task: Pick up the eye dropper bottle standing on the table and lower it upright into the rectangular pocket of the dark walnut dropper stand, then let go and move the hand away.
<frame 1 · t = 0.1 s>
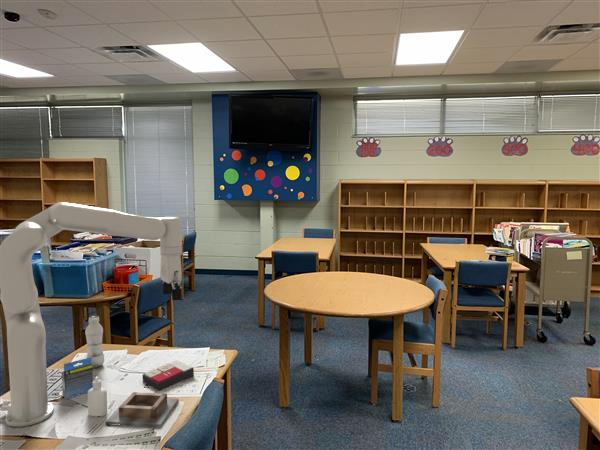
hand: (171, 296, 151), 31 cm above the table, tool pointing down, fingers open, 9 cm apart
dropper stand: (143, 412, 130), on the table
plastic bottle: (95, 366, 163), on the table
label tape cartridge: (78, 393, 142), on the table
red and grey box: (168, 380, 153), on the table
eye dropper bottle: (97, 414, 129), on the table
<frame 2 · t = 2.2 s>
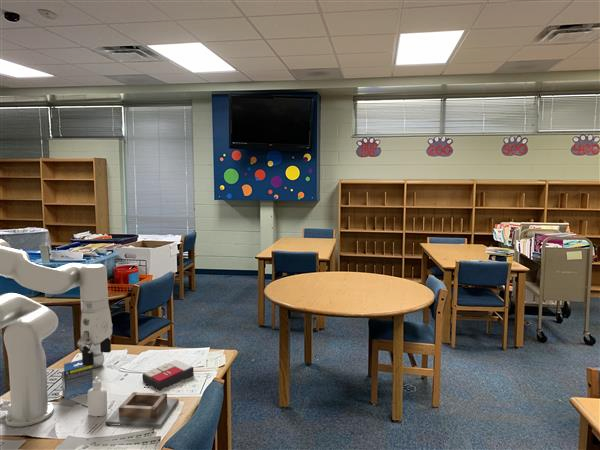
hand: (97, 358, 128), 18 cm above the table, tool pointing down, fingers open, 9 cm apart
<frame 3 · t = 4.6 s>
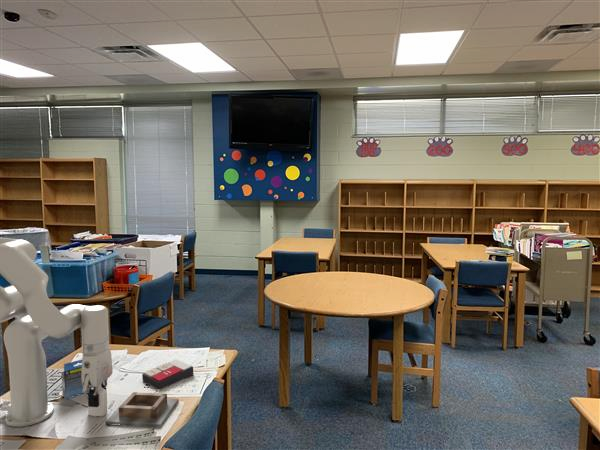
hand: (97, 402, 129), 4 cm above the table, tool pointing down, fingers closed on eye dropper bottle, 3 cm apart
eye dropper bottle: (97, 414, 129), on the table, touching gripper
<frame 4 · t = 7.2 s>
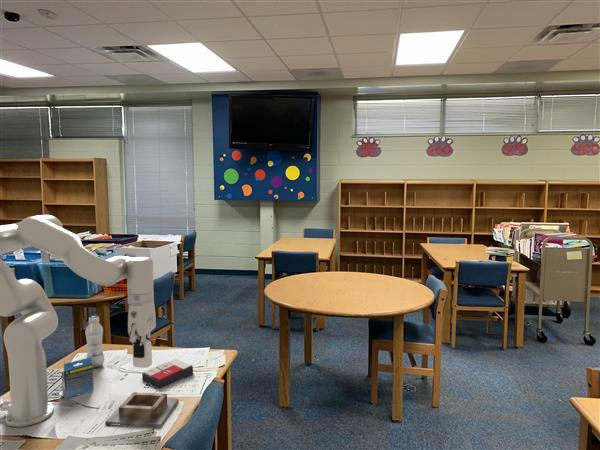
hand: (142, 354, 128), 19 cm above the table, tool pointing down, fingers closed on eye dropper bottle, 3 cm apart
eye dropper bottle: (142, 366, 129), point 15 cm above the table, touching gripper
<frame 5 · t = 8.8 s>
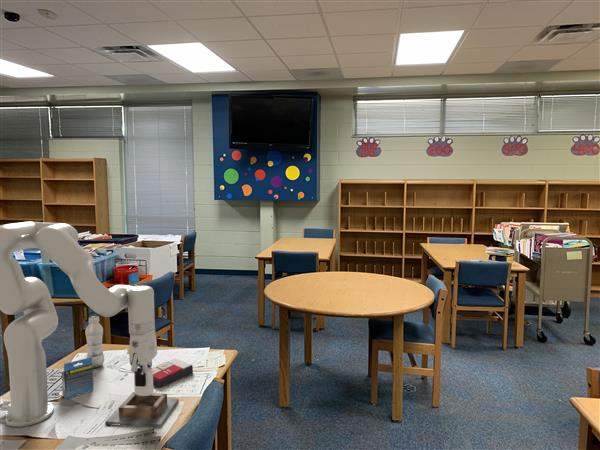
hand: (143, 382, 129), 10 cm above the table, tool pointing down, fingers closed on eye dropper bottle, 3 cm apart
eye dropper bottle: (144, 394, 130), point 6 cm above the table, touching gripper
when the fingers open (6 cm above the table, at t = 10.2 s): eye dropper bottle drops 1 cm, resting on dropper stand.
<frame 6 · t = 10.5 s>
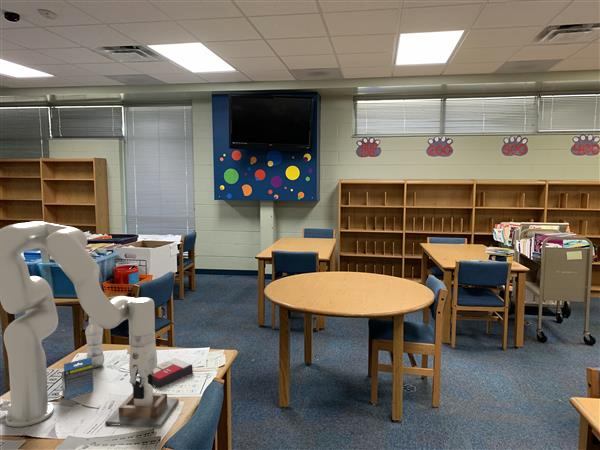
hand: (143, 392, 130), 7 cm above the table, tool pointing down, fingers open, 5 cm apart
eye dropper bottle: (143, 409, 130), point 1 cm above the table, touching dropper stand
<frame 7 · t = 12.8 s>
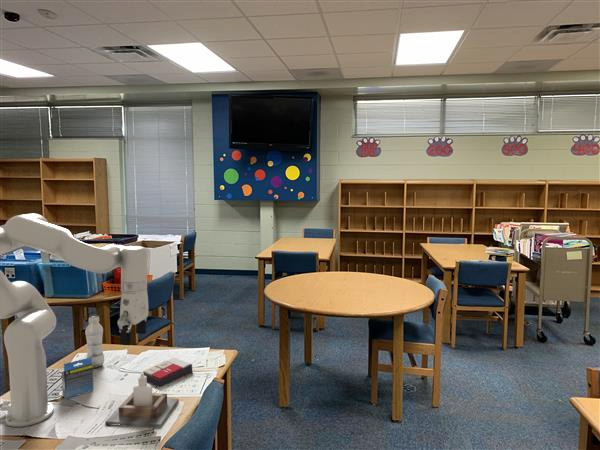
hand: (133, 338, 130), 23 cm above the table, tool pointing down, fingers open, 9 cm apart
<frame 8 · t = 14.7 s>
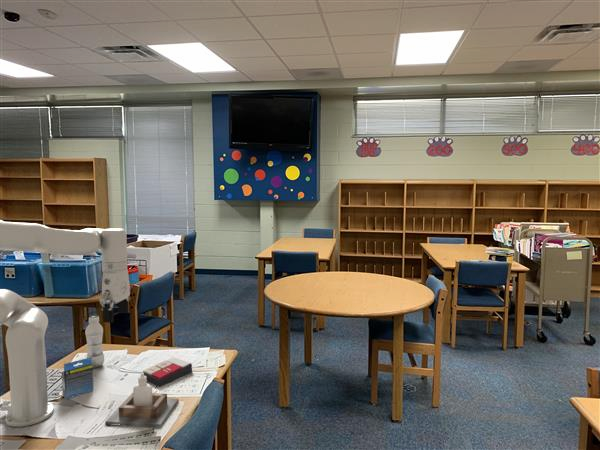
hand: (116, 317, 135), 28 cm above the table, tool pointing down, fingers open, 9 cm apart
at the end: eye dropper bottle 0.2 cm off-centre on the dropper stand, point 0.8 cm above the dropper stand's base; eye dropper bottle tilted 0°; the gripper is holding nothing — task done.
